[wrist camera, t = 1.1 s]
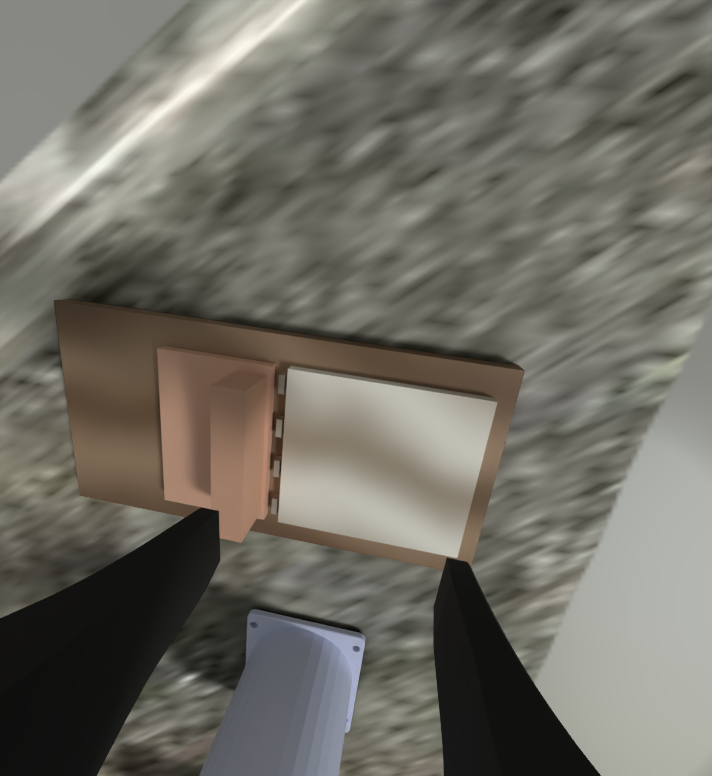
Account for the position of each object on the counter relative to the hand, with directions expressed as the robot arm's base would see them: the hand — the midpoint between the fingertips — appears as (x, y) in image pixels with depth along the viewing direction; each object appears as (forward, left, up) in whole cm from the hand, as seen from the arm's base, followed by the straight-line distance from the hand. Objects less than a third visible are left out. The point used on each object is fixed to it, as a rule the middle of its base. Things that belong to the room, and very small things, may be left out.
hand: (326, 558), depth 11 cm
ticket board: (-1, +5, -9) cm, 11 cm away
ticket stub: (-1, +8, -8) cm, 11 cm away
